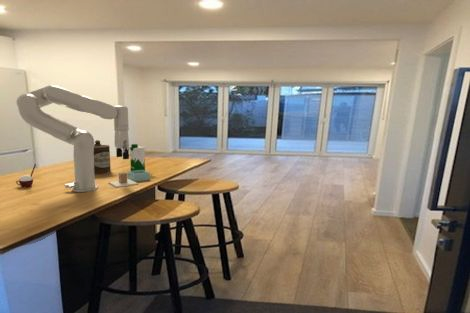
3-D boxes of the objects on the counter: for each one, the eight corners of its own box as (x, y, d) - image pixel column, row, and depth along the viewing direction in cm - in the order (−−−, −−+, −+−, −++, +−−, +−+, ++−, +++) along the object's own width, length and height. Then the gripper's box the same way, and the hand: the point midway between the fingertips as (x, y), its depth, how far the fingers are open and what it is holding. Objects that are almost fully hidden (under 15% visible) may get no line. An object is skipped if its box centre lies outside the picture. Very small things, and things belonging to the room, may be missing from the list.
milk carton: (128, 173, 205) (127, 144, 202) (140, 171, 211) (140, 143, 208) (135, 175, 199) (134, 145, 196) (147, 173, 205) (146, 144, 202)
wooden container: (96, 175, 195) (94, 141, 192) (82, 172, 202) (80, 140, 199) (115, 171, 208) (114, 140, 205) (101, 169, 215) (100, 138, 212)
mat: (115, 188, 164) (115, 187, 164) (107, 183, 174) (107, 183, 174) (138, 185, 173) (138, 184, 173) (129, 180, 182) (129, 180, 182)
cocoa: (15, 188, 161) (11, 166, 159) (22, 185, 167) (19, 164, 165) (33, 187, 162) (30, 166, 159) (40, 184, 168) (37, 163, 166)
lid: (116, 187, 165) (116, 176, 164) (108, 183, 174) (108, 172, 173) (137, 184, 173) (137, 173, 172) (129, 180, 182) (128, 170, 181)
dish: (134, 182, 179) (133, 174, 178) (127, 179, 186) (127, 171, 185) (149, 180, 185) (149, 172, 185) (142, 177, 193) (142, 169, 192)
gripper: (109, 127, 172) (110, 156, 175) (120, 129, 160) (121, 160, 162) (122, 127, 177) (123, 155, 180) (134, 128, 165) (135, 159, 167)
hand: (122, 157), depth 171 cm, fingers open, 9 cm apart
